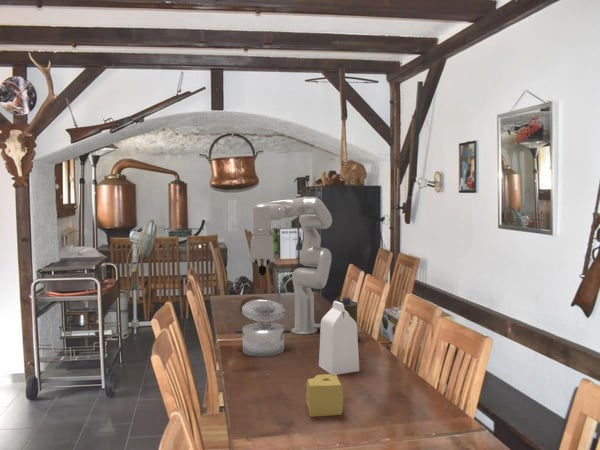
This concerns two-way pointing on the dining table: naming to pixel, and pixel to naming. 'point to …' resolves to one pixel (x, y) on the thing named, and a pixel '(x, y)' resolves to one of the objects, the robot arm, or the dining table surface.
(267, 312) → the lid
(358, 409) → the dining table surface
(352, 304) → the canister
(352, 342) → the milk
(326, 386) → the cheese
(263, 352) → the pot
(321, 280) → the robot arm
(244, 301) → the bread
